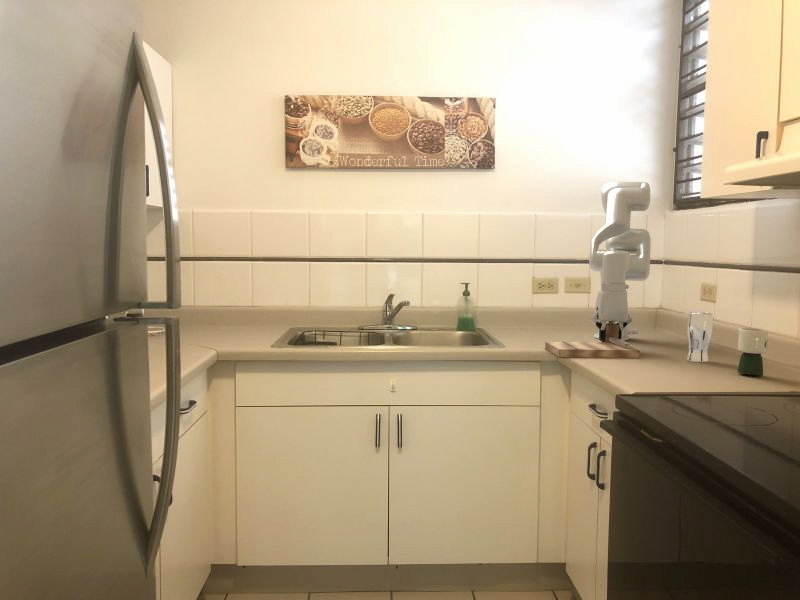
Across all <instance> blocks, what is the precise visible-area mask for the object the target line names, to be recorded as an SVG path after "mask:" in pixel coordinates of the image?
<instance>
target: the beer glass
mask: <svg viewBox="0 0 800 600" xmlns="http://www.w3.org/2000/svg"><path fill="white" fill-rule="evenodd" d="M688 314H689V315H688V319H687V338H688V353H687V357H686V360H687V361H689V362H692V363H701V364H702V363H704V364H705V363H709V354H708V352H709V351H708V350H709V346H710V342H711V341H710V340H711V339H712V338H711V337H712V335H713V334H712V333H713V325H714V324H713V323H714V321H713V320H714V319H713V318H714V315H713V313H712V312H711V313H710V312H704V311H702V312H701V311H689V313H688Z"/></svg>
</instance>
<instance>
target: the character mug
mask: <svg viewBox="0 0 800 600" xmlns="http://www.w3.org/2000/svg"><path fill="white" fill-rule="evenodd" d="M738 329H739V330H738V341H737V350H738V351H739V352H742V353H741V355H740V358H739V360H738V361H739V362H738V367H737V373H739V374H743V375H744V374H746V375H750V377H753V376H754V375H755V376H763V375H764V364H763V363H764V361H763V357H762V354H765V353H767V350H768V339H769V329H768V330H767V329H764V328H758V327H757V328H755V327H739V328H738Z"/></svg>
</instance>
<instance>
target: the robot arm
mask: <svg viewBox="0 0 800 600" xmlns="http://www.w3.org/2000/svg"><path fill="white" fill-rule="evenodd" d="M600 193H601V194H600V196H601V203H602V208H603V211H604V214H605V224H604V225H603V226H602V227H601V228H600V229H598V231H597V232H596V233H595V235H594V236H593V238H592V239H591V242H590V246H589V247H590V248H589V258H588V259H589V260H588V264H589V268H590V269H591V270H592V271H594V272H599V275H600V291H598V292H597V296H596V300H595V305H594V307H595V308H594V314H592V316H591V317H589V318H590V319H589V321H590V322H592V324H594V325H595V326H596V328H597V329H598V332H596V333H594V334H593V337H594V338H595V339H599V342H605V337H606V330H605V325H606V323H609V321H611V322H613V324H618V325H619V336H618V339H620V340H623V341H629V340H630V336H629V335H638V334H639V330H638V328H633V329H632V328H629V327H628V325H629V324H631V323H632V322H633V319H632V317H631V316H630V314H629V305H628V304H629V303H628V292H627V291H628V290H627V289H629V287H630V286H629V285H628V284H626V281H629V282H632V281H633V282H643V281H646V280H647V279H648V278H649V275H650V271H651V270H650V269H651V250H652V249H651V247H652V246H651V244H652V242H651V233H650V232H649V231H648V230H647V229H644V228H631V215H632V212H645V211H647V210H648V209H649V207H650V204H651V187H650V184H649V183H648V182H647V181H612V182H607V183H605V184H604V185H602V188H601V192H600ZM604 242H605V248H606V249H599V247H600V245H601V244H602V243H604Z"/></svg>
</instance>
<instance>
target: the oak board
mask: <svg viewBox="0 0 800 600" xmlns="http://www.w3.org/2000/svg"><path fill="white" fill-rule="evenodd" d="M544 349H545V350H546V351H547V352H549V353H551V354H553V355H554V356H556V357H558V358H605V359H606V358H608V359H609V358H610V359H611V358H612V359H613V358H615V359H617V358H624V359H625V358H627V359H628V358H629V359H639V358H640V349H638V348H636V347H633V346H631V345H630V348H624V347H621V346H619V345H617V344H614V343H612V342H602V341H599V342H598V341H590V342H589V341H545V344H544Z"/></svg>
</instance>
